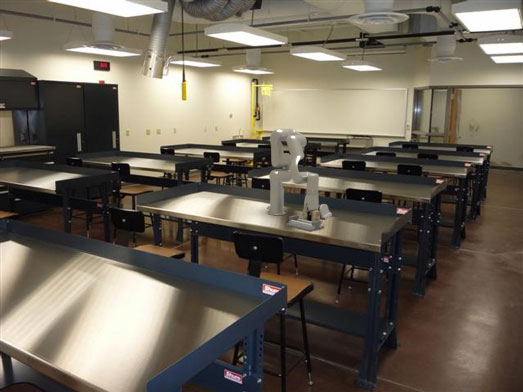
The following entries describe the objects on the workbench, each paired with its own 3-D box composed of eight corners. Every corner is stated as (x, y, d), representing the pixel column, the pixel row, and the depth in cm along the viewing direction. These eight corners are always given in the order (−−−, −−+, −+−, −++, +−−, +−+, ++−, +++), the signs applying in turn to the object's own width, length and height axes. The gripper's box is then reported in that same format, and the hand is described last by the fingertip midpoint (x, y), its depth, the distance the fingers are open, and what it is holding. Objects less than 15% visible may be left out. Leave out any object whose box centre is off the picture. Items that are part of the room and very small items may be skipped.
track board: (285, 225, 287) (285, 217, 286) (299, 222, 296) (299, 214, 296) (310, 231, 273) (310, 223, 272) (324, 228, 283) (324, 219, 282)
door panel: (302, 222, 297) (302, 208, 295) (305, 221, 299) (305, 208, 297) (316, 225, 289) (317, 211, 287) (319, 224, 291) (320, 211, 289)
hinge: (325, 219, 305) (321, 205, 304) (319, 221, 307) (314, 207, 306) (332, 215, 320) (328, 201, 319) (326, 216, 322) (322, 203, 321)
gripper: (315, 190, 299) (314, 217, 302) (299, 193, 287) (298, 221, 290) (324, 192, 293) (323, 219, 297) (308, 194, 282) (307, 223, 285)
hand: (311, 220), depth 293 cm, fingers closed on door panel, 3 cm apart
